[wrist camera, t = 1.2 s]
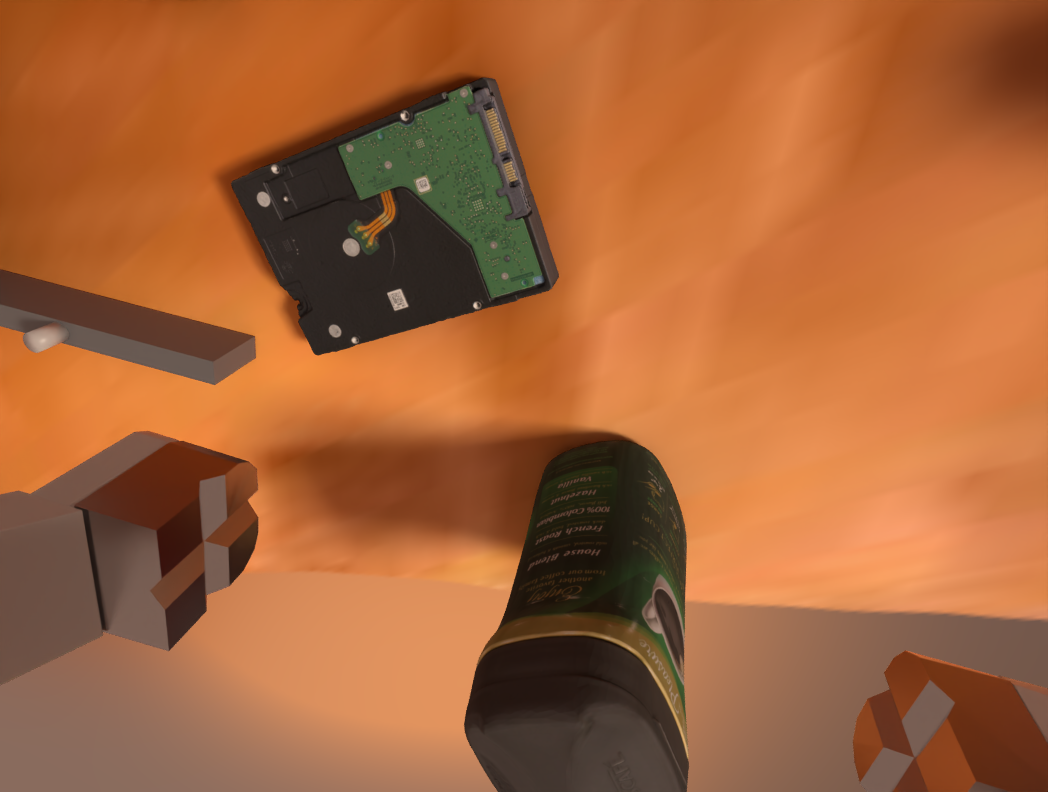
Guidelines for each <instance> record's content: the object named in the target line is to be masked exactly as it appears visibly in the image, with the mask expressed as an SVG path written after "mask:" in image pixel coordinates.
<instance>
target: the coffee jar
mask: <svg viewBox="0 0 1048 792" xmlns="http://www.w3.org/2000/svg"><path fill="white" fill-rule="evenodd" d="M686 551H687V543H686V531H685V524H684V521H683V516H682V512H681V509H680V506H679V503H678V500H677V497H676V494H675V492H674V489H673V487H672V484H671V482H670V480H669V478H668V476H667V474H666V472H665V471H664V469H663V467H662V465H661V464H660V462H659V460H658V459H657V458H656V457H655V456H654V455H653V454H652V453H651V452H650V451H649V450H648V449H646V448H645V447H643V446H640V445H638V444H635V443H632V442H628V441H604V442H598V443H593V444H588V445H584V446H580V447H577V448H574V449H571V450H569V451H566V452H564V453H562V454H560V455H558V456H557V457H555V458H554V459H553V460H552V461H551V462H550V463H549V464H548V465H547V467H546V468H545V470H544V473H543V476H542V479H541V482H540V485H539V489H538V492H537V495H536V499H535V503H534V507H533V511H532V515H531V520H530V524H529V528H528V532H527V536H526V540H525V544H524V548H523V552H522V555H521V559H520V562H519V566H518V569H517V573H516V576H515V580H514V584H513V587H512V591H511V594H510V598H509V601H508V604H507V608H506V611H505V613H504V616H503V619H502V621H501V624H500V626H499V628H498V630H497V631H496V633H495V634H494V635H493V636H492V637H491V638H490V640H489V641H488V643H487V644H486V646H485V648H484V650H483V652H482V653H481V655H480V657H479V660H478V663H477V668H476V671H475V676H474V680H473V685H472V689H471V694H470V699H469V703H468V706H467V710H466V716H465V723H464V727H465V733H466V737H467V740H468V742H469V744H470V746H471V748H472V749H473V751H474V753H475V755H476V757H477V758H478V760H479V762H480V764H481V766H482V767H483V769H484V771H485V772H486V774H487V776H488V777H489V779H490V780H491V782H492V784H493V785H494V787H495V788H496V789H497V791H498V792H687V780H688V769H689V763H688V743H687V727H686V713H685V695H684V632H685V618H684V617H685V585H686Z"/></svg>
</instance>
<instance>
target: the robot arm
mask: <svg viewBox="0 0 1048 792" xmlns="http://www.w3.org/2000/svg"><path fill="white" fill-rule="evenodd" d="M257 490H258V483H257V469H256V468H255V467H254V466H253V465H252V464H251V463H250V462H248V461H245V460H242V459H239V458H235V457H232V456H229V455H226V454H223V453H220V452H216V451H213V450H210V449H207V448H204V447H200V446H197V445H194V444H191V443H188V442H184V441H178V440H176V439H173V438H170V437H166V436H163V435H160V434H157V433H153V432H150V431H141V432H134V433H132V434H130V435H129V436H127V437H125V438H124V439H122V440H120V441H119V442H117V443H115V444H114V445H112V446H110V447H108V448H107V449H105V450H103V451H102V452H100V453H98V454H97V455H95V456H93V457H92V458H90V459H88V460H87V461H85V462H83V463H82V464H80V465H78V466H77V467H75V468H73V469H72V470H70V471H68V472H66V473H65V474H63V475H61V476H60V477H58V478H56V479H55V480H53V481H51V482H50V483H48V484H46V485H45V486H43V487H41V488H40V489H38V490H36V491H35V492H33V493H31V494H28V493H24V492H21V491H15V492H10V493H6V494H1V495H0V685H2V684H4V683H6V682H9V681H11V680H13V679H15V678H17V677H19V676H21V675H23V674H25V673H27V672H29V671H31V670H33V669H35V668H38V667H40V666H41V665H44V664H46V663H48V662H50V661H52V660H54V659H56V658H58V657H60V656H62V655H64V654H66V653H68V652H71V651H73V650H75V649H77V648H79V647H81V646H83V645H85V644H87V643H89V642H91V641H93V640H95V639H97V638H100V637H101V636H103V632H106V633H109V634H113V635H116V636H119V637H123V638H126V639H129V640H133V641H136V642H140V643H143V644H146V645H150V646H153V647H157V648H160V649H163V650H167V651H169V650H170V649H171V648H172V647H173V646H174V645H175V644H176V643H177V642H178V641H179V640H180V639H181V638H182V637H183V636H184V634H185V633H186V632H187V631H188V630H189V629H190V628H191V627H192V626H193V625H194V624H195V623H196V622H197V621H198V620H199V618H200V617H201V616H202V615H203V614H204V613H205V612H206V609H207V595H208V594H210V593H213V592H216V591H218V590H221V589H223V588H226V587H228V586H230V585H231V584H232V583H233V582H234V580H235V579H236V578H237V577H238V576H239V575H240V574H241V573H242V571H243V570H244V568H245V567H246V565H247V563H248V561H249V559H250V557H251V555H252V553H253V551H254V549H255V544H256V540H257V536H258V516H257V515H256V513H255V512H254V510H253V508H252V507H251V505H250V504H249V502H248V501H247V500H248V499H249V498H250V497H251V496H252V495H253V494H254V493H255V492H256V491H257ZM884 674H885V677H886V680H887V683H888V686H889V689H890V690H887V691H885V692H883V693H880V694H878V695H876V696H873V697H871V698H868V699H867V701H866V703H865V705H864V706H863V708H862V710H861V712H860V714H859V715H858V717H857V721H856V727H855V732H854V738H853V751H854V763H855V766H856V770H857V774H858V778H859V781H860V784H861V785H862V786H863V787H864V789H865V790H866V791H867V792H1048V688H1044V687H1041V686H1037V685H1033V684H1029V683H1025V682H1022V681H1018V680H1014V679H1010V678H1006V677H1003V676H994V675H991V674H987V673H983V672H980V671H977V670H973V669H970V668H966V667H962V666H959V665H955V664H951V663H948V662H945V661H941V660H938V659H934V658H930V657H926V656H923V655H920V654H916V653H913V652H908V651H904V652H902V653H901V654H899V655H897V656H896V657H894V658H893V660H892V662H891V663H890V665H889V666H888V668H887V669H886V671H885V672H884Z"/></svg>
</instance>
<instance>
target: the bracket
mask: <svg viewBox="0 0 1048 792" xmlns="http://www.w3.org/2000/svg"><path fill="white" fill-rule="evenodd" d="M0 326H2V327H6V328H9V329H13V330H17V331H20V332H24V333H25V334H24V335H23V341H24V344H25V345H26V347H27V348H28V349H29V350H31V351H33V352H36V353H38V352H41V351H43V350H46V349H48V348H50V347H53V346H55V345H57V344H60V343H64V344H68V345H71V346H75V347H79V348H82V349H86V350H89V351H93V352H97V353H100V354H104V355H108V356H111V357H115V358H119V359H122V360H126V361H130V362H133V363H137V364H141V365H144V366H148V367H151V368H155V369H159V370H162V371H166V372H170V373H173V374H177V375H181V376H184V377H188V378H192V379H195V380H199V381H202V382H206V383H210V384H213V385H216V384H217V383H219V382H220V381H222V380H223V379H225V378H226V377H228V376H229V375H231V374H232V373H234V372H235V371H237V370H238V369H240V368H241V367H243V366H244V365H246V364H247V363H249V362H250V361H252V360H253V359H255V358H256V353H255V336H251V335H248V334H244V333H240V332H236V331H232V330H229V329H225V328H221V327H217V326H213V325H209V324H206V323H202V322H198V321H194V320H190V319H187V318H183V317H179V316H175V315H171V314H168V313H164V312H160V311H156V310H152V309H149V308H145V307H141V306H137V305H133V304H130V303H126V302H122V301H118V300H114V299H111V298H107V297H103V296H99V295H95V294H92V293H88V292H84V291H80V290H76V289H72V288H69V287H65V286H61V285H57V284H53V283H50V282H46V281H42V280H38V279H34V278H31V277H27V276H23V275H19V274H15V273H12V272H8V271H4V270H0Z"/></svg>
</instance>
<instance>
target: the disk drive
mask: <svg viewBox="0 0 1048 792" xmlns="http://www.w3.org/2000/svg"><path fill="white" fill-rule="evenodd" d="M231 185H232V188H233V191H234V192H235V194H236V196H237V198H238V200H239V203H240V204H241V206H242V208H243V210H244V212H245V215H246V216H247V218H248V220H249V222H250V223H251V226H252V228H253V230H254V232H255V234H256V236H257V238H258V241H259V242H260V244H261V246H262V248H263V250H264V252H265V255H266V257H267V259H268V261H269V264H270V265H271V267H272V269H273V272H274V274H275V276H276V278H277V280H278V282H279V284H280V286H282V287H283V288H284V289H285V290H287V291H288V293H289V295H290V296H292V298H293V299H294V300H295V301H296V300H299V302H300V304H298V306H297V308H298V310H299V316H300V319H299V321H298V322H299V324H300V326H301V328H302V330H303V332H304V334H305V336H306V338H307V340H308V342H309V344H310V346H311V348H312V350H313V353H314V354H315V355H321V354H324V353H330V352H337V351H339V350H343V349H347V348H350V347H353V346H355V345H357V344H361V343H365V342H369V341H373V340H376V339H379V338H383V337H386V336H389V335H393V334H397V333H400V332H404V331H408V330H411V329H415V328H418V327H421V326H425V325H429V324H433V323H436V322H438V321H444V320H446V319H449V318H455V317H457V316H461V315H464V314H469V313H473V312H475V311H479V310H482V309H484V308H488V307H494V306H498V305H502V304H507V303H510V302H515V301H517V300H518V299H520V298H524V297H528V296H532V295H536V294H539V293H542V292H546V291H549V290H550V289H552V287H553V286H554V284H555V283H556V281H557V279H558V277H559V274H558V271H557V268H556V265H555V262H554V259H553V256H552V253H551V250H550V247H549V243H548V240H547V237H546V234H545V231H544V227H543V224H542V221H541V218H540V215H539V212H538V209H537V206H536V203H535V200H534V196H533V194H532V192H531V189H530V186H529V183H528V180H527V177H526V172H525V169H524V166H523V162H522V159H521V156H520V153H519V150H518V147H517V144H516V141H515V138H514V135H513V132H512V129H511V126H510V122H509V119H508V117H507V113H506V110H505V107H504V104H503V101H502V98H501V95H500V91H499V88H498V85H497V82H496V80H495V79H492V78H480V79H478V80H476V81H474V82H472V83H469V84H466V85H463V86H461V87H458V88H456V89H454V90H451V91H448V92H441V93H439V94H437V95H435V96H431V97H429V98H427V99H425V100H422V101H421V102H420V103H417V104H415V105H413V106H411V107H408V108H406V109H402V110H401V111H399V112H396V113H394V114H391V115H389V116H387V117H385V118H382V119H379V120H377V121H375V122H372V123H370V124H367V125H365V126H362V127H359V128H358V129H355V130H353V131H350V132H348V133H346V134H343V135H341V136H338V137H336V138H334V139H332V140H330V141H327V142H324V143H321V144H320V145H317V146H315V147H312V148H310V149H307V150H305V151H303V152H300V153H298V154H296V155H293V156H291V157H288V158H286V159H283V160H282V161H279V162H277V163H273V164H269V165H266V166H264V167H261V168H259V169H257V170H255V171H253V172H250V173H249V174H248V175H245V176H242V177H241V178H239V179H236V180H234V181H232V183H231Z"/></svg>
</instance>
